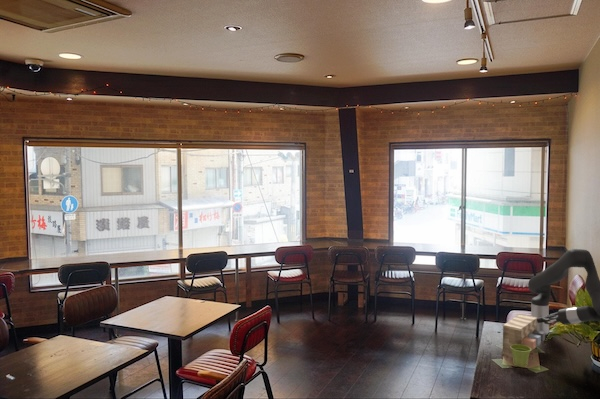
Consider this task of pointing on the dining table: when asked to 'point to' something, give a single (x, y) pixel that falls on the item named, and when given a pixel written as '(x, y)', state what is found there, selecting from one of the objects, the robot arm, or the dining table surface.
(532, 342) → the key terracotta
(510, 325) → the console
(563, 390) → the dining table surface
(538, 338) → the key slate
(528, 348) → the plant pot
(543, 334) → the key charcoal
